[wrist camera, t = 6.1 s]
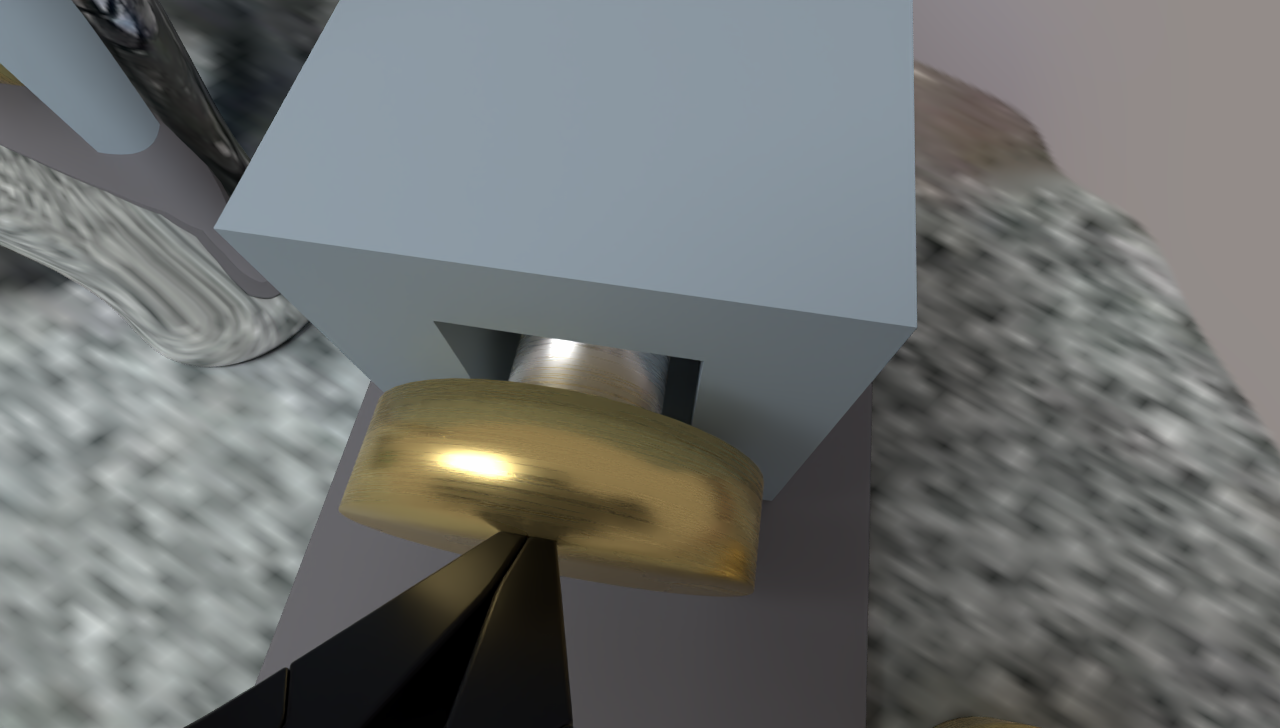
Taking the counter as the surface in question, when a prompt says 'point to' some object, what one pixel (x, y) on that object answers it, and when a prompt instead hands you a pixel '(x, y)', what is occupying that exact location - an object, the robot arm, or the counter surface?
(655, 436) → the shaft
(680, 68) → the bearing block
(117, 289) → the beer glass
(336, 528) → the mat
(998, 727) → the gold domed disc
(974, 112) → the counter surface
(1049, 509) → the counter surface
